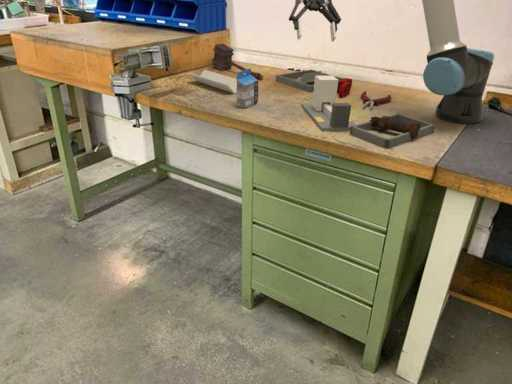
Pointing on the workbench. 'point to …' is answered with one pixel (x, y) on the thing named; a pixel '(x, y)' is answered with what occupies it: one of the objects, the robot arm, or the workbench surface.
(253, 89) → the label tape box
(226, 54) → the hammer
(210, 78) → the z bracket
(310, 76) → the metal bracket
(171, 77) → the workbench surface
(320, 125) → the rail board
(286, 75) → the bracket parts frame
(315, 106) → the cream upright block
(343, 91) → the mechanical linkage
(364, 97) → the pliers
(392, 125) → the bolt
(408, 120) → the bolt parts frame
